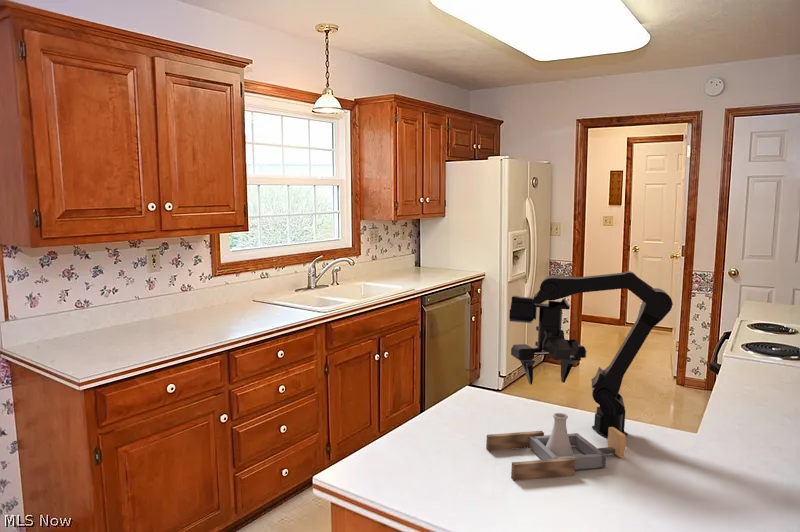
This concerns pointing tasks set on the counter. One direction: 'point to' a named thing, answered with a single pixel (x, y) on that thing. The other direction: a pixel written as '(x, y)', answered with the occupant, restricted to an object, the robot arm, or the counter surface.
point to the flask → (559, 437)
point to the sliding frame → (583, 449)
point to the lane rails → (530, 468)
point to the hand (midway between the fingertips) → (546, 383)
